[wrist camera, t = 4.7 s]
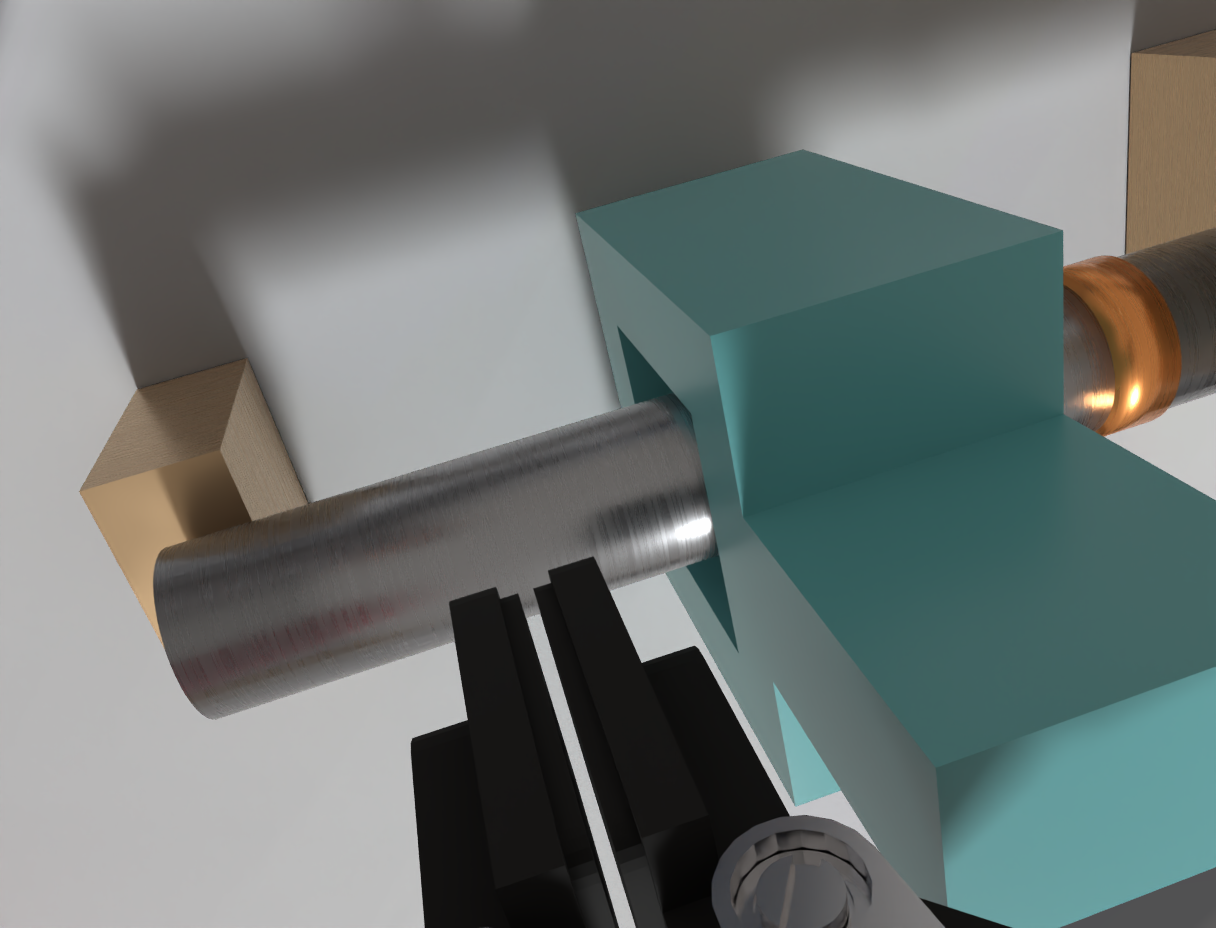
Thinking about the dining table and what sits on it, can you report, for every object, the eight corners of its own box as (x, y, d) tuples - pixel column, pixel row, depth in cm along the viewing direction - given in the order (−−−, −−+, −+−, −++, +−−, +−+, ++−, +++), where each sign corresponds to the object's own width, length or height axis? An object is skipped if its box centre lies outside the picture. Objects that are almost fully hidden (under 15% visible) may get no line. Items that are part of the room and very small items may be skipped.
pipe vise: (244, 611, 20) (172, 1013, 12) (111, 337, 17) (-97, 623, 9) (1279, 285, 22) (1785, 435, 15) (1308, 3, 20) (1950, 0, 12)
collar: (655, 555, 19) (965, 1112, 9) (575, 213, 16) (915, 522, 6) (845, 494, 20) (1324, 965, 10) (802, 149, 16) (1443, 348, 7)
